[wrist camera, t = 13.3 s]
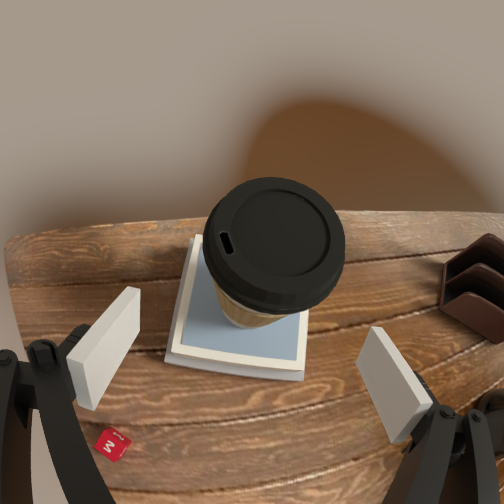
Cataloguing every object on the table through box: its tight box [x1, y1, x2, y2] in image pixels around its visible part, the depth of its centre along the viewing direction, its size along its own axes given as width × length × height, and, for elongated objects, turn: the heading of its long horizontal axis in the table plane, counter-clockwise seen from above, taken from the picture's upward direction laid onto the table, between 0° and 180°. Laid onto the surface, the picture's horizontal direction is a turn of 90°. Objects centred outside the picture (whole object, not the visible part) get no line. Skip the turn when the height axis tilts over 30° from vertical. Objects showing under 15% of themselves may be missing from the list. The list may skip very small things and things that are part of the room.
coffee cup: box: [202, 177, 345, 329], centre depth 24 cm, size 10×10×15 cm
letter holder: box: [439, 233, 504, 344], centre depth 36 cm, size 10×20×14 cm, turn 64°
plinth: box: [164, 234, 309, 382], centre depth 34 cm, size 16×16×6 cm
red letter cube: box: [94, 427, 132, 463], centre depth 25 cm, size 3×3×3 cm
